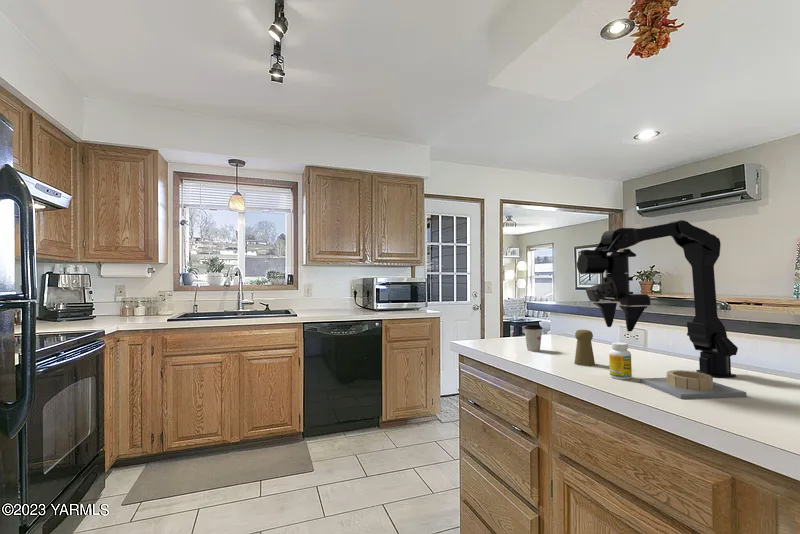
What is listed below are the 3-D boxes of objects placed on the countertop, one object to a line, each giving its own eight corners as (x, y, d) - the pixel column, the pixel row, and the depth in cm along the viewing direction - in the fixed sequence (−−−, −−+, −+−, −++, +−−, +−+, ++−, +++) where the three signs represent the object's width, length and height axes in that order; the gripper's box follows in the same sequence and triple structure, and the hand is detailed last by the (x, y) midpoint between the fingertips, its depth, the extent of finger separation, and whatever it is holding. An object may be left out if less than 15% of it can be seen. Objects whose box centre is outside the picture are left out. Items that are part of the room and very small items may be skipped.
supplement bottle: (616, 374, 112) (615, 340, 112) (635, 378, 107) (634, 343, 107) (606, 377, 109) (605, 342, 109) (625, 381, 104) (624, 345, 104)
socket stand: (696, 380, 104) (696, 367, 104) (746, 396, 90) (745, 381, 90) (639, 382, 103) (639, 368, 103) (680, 398, 89) (680, 383, 89)
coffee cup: (522, 351, 147) (521, 324, 147) (526, 348, 153) (526, 322, 153) (541, 352, 143) (540, 325, 144) (545, 349, 149) (544, 323, 150)
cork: (574, 365, 123) (574, 330, 123) (574, 361, 129) (573, 328, 129) (596, 366, 121) (595, 331, 121) (594, 362, 126) (593, 329, 127)
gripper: (572, 274, 117) (574, 325, 117) (609, 273, 99) (611, 334, 98) (608, 273, 118) (609, 324, 118) (651, 273, 99) (653, 333, 99)
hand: (619, 329), depth 108 cm, fingers open, 9 cm apart
